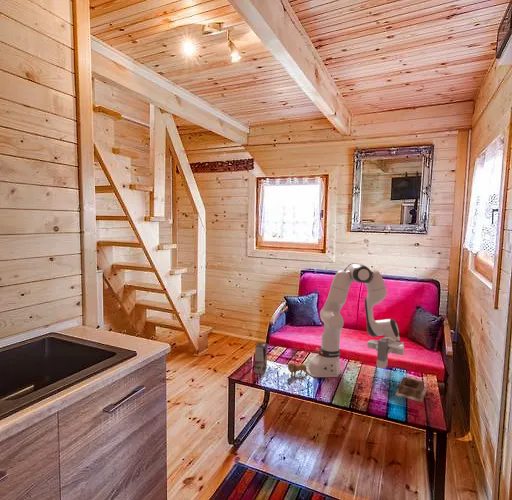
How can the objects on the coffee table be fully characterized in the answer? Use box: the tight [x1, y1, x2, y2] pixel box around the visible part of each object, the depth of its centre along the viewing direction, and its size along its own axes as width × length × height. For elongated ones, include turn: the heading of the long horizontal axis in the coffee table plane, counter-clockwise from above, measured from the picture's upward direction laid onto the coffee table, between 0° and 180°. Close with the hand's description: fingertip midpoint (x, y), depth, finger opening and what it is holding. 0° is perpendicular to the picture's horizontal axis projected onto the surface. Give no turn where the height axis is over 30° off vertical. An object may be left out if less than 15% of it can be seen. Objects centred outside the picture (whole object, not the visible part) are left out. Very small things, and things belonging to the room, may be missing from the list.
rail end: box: [376, 337, 389, 369], centre depth 187 cm, size 4×7×15 cm, turn 146°
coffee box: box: [254, 342, 268, 374], centre depth 204 cm, size 9×6×16 cm
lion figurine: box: [287, 362, 308, 378], centre depth 198 cm, size 15×5×9 cm, turn 122°
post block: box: [394, 376, 428, 403], centre depth 179 cm, size 13×16×5 cm
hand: (382, 350), depth 186 cm, fingers closed on rail end, 4 cm apart
